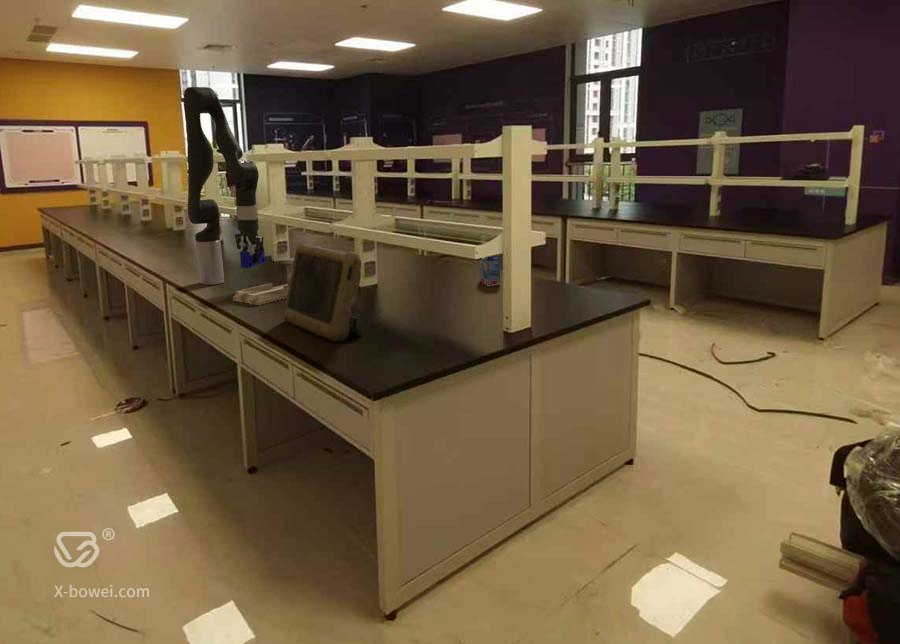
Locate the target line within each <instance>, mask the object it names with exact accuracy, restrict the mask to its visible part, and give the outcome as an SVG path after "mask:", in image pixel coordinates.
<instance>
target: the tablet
mask: <svg viewBox="0 0 900 644" xmlns="http://www.w3.org/2000/svg"><path fill="white" fill-rule="evenodd" d="M294 252H295V253H294V257H293V258H294V260H293V271H292V275H291V278H290V284H289V289H288V293H287V297H286V299H285V303H284V307H283V319H284V322H286V323H289V324H291V325H294V326H296V327H298V328H301V329H304V330H306V331H308V332H311V333H313V334H315V335H316V336H319V337H322V338H324V339H327V340H328V341H330V342H339V343H342V342H344V341H345V340H346V339H348V337H349V335H350V331H353V332H354V334H355V335H356V336H357V337H362V336H363V334H364V333H363V320H362V319H361V318H358V317H357V316H353V315H352V311H351V307H350V304H351V300H352V299H353V298H354V297H356V296H357V295H358V291H359V287H360V281H361V278H362V277H361V276H362V272H361V271H362V260H361V257H360V255H359V254H358V253H356V251H349V252H345V251H343V250H336V249H335V250H334V249H330V248H324V247H321V246H320V245H319V244H316V245H314V244H312V243H310V242H309V241H306V240H305V241H301V242H299V243H298V245H297V247H296V248H295V251H294Z"/></svg>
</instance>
